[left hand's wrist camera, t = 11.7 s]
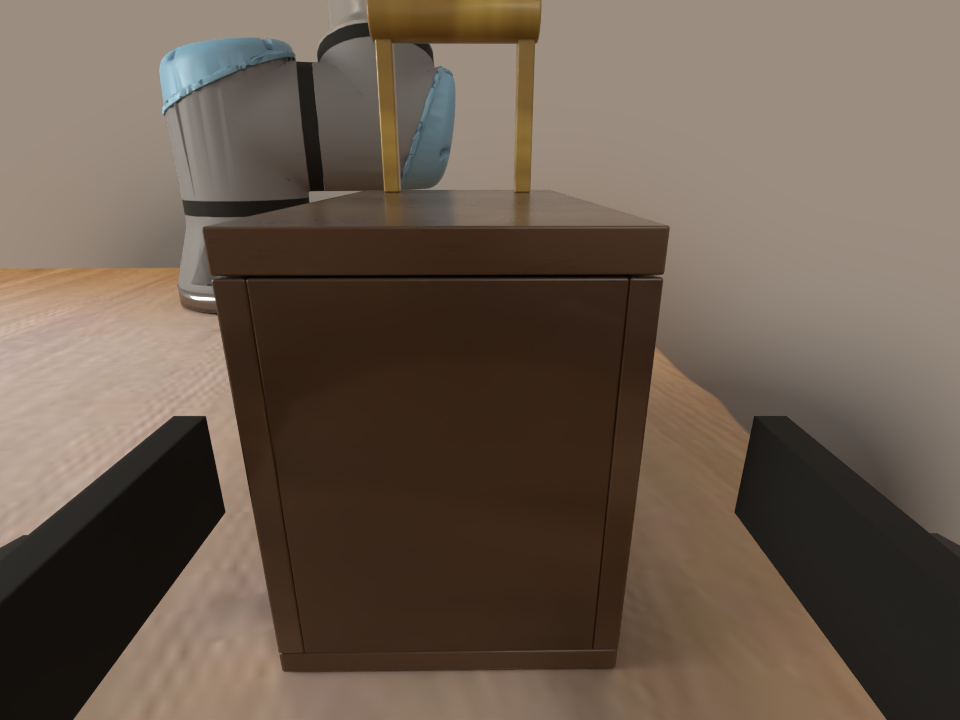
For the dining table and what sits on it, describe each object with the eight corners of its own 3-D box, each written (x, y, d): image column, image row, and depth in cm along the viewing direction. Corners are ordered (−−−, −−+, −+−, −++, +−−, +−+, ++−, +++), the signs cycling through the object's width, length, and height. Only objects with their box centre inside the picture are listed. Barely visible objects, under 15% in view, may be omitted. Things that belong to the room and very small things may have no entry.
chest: (381, 409, 30) (366, 211, 26) (541, 408, 30) (550, 211, 26) (281, 673, 14) (209, 278, 10) (616, 669, 14) (664, 277, 11)
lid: (368, 210, 26) (353, 5, 23) (549, 210, 26) (558, 6, 23) (209, 276, 10) (96, -339, 7) (664, 275, 11) (740, -333, 8)
